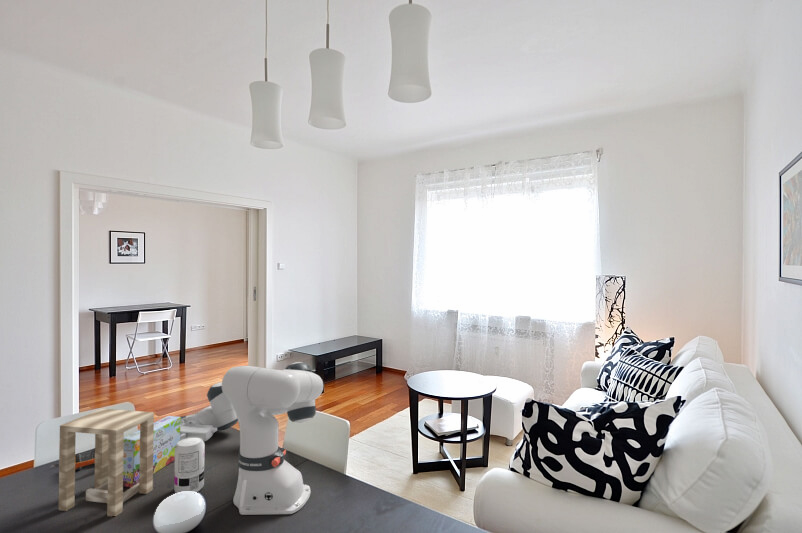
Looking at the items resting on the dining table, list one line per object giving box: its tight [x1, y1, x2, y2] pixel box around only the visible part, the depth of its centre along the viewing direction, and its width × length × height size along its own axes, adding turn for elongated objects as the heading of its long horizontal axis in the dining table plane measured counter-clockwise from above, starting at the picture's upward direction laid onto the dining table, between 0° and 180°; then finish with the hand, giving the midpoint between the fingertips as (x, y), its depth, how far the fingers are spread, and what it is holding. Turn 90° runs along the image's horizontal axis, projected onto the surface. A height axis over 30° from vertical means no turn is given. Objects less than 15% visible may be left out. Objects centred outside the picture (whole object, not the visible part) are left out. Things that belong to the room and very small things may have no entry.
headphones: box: [50, 448, 95, 471], centre depth 142 cm, size 17×5×20 cm
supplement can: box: [173, 437, 206, 494], centre depth 128 cm, size 8×8×15 cm
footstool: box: [58, 408, 155, 517], centre depth 122 cm, size 18×15×24 cm
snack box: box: [123, 415, 181, 488], centre depth 138 cm, size 21×6×15 cm, turn 171°
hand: (171, 441), depth 149 cm, fingers closed, pressing on snack box
